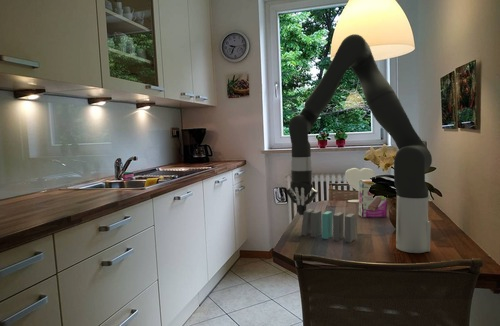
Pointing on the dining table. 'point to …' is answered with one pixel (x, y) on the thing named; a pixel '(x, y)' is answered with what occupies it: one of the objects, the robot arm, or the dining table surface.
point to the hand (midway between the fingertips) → (302, 214)
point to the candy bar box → (370, 202)
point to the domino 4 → (338, 226)
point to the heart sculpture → (358, 178)
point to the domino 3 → (326, 224)
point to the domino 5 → (349, 228)
